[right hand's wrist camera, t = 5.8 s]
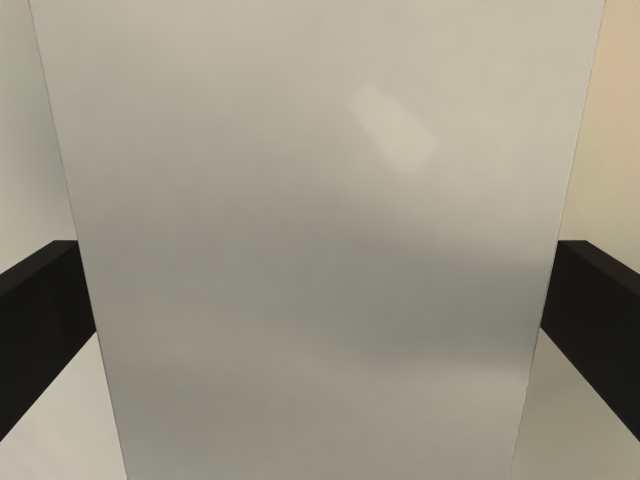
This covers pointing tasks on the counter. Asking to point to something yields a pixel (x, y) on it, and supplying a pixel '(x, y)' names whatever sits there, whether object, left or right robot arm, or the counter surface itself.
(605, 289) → the right robot arm
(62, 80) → the cabinet
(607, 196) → the counter surface
